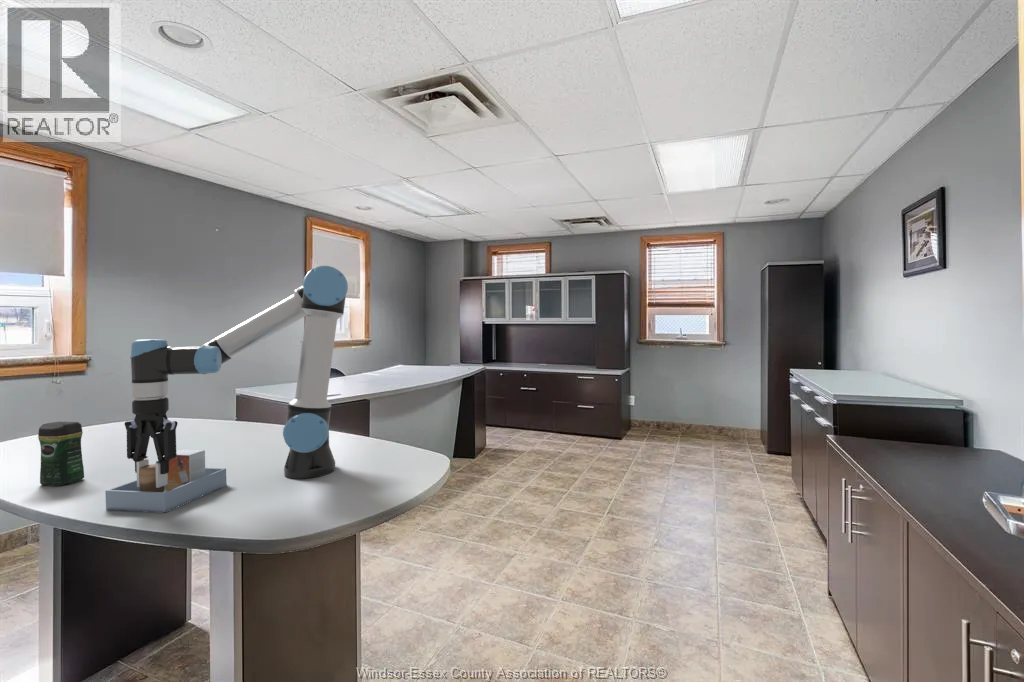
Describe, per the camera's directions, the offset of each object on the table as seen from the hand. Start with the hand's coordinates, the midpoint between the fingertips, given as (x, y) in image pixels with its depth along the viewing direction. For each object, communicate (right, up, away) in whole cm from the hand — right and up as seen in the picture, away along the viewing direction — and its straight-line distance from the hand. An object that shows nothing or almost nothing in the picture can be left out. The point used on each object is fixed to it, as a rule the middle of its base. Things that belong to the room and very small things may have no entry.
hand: (152, 485), depth 120 cm
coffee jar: (-42, -5, +18) cm, 46 cm away
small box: (+2, -4, +10) cm, 11 cm away
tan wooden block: (0, -2, 0) cm, 2 cm away
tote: (+1, -5, +5) cm, 7 cm away
